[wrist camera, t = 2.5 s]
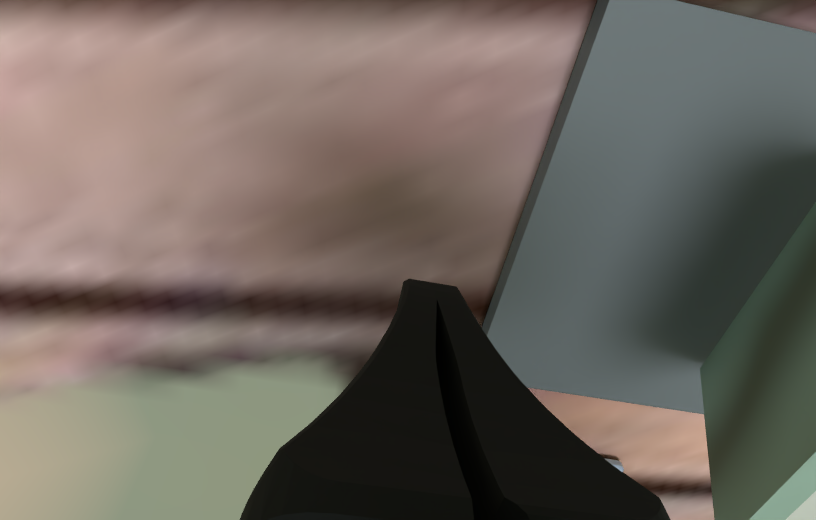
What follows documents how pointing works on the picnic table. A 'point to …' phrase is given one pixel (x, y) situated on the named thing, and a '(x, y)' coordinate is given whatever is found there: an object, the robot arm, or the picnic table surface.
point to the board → (657, 201)
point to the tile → (767, 394)
